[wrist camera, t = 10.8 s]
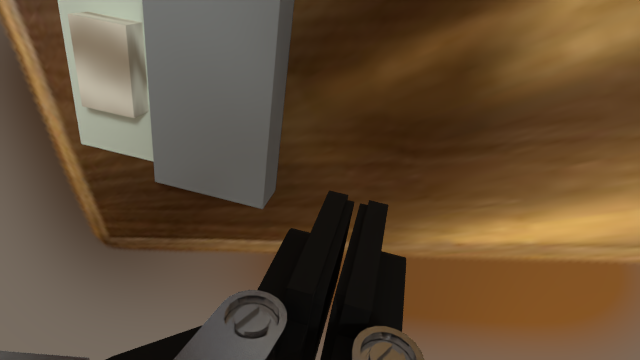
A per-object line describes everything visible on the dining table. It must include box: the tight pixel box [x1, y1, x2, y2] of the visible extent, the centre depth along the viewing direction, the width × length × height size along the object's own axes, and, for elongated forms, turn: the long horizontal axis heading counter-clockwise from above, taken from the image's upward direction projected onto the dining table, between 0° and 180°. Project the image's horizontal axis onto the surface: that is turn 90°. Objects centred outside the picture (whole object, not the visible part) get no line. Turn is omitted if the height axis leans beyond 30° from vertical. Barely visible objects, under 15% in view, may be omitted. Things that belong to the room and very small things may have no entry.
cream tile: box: [68, 12, 149, 118], centre depth 40 cm, size 9×6×2 cm, turn 172°
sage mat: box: [58, 0, 154, 162], centre depth 41 cm, size 22×12×1 cm, turn 172°
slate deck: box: [142, 0, 294, 209], centre depth 37 cm, size 22×12×4 cm, turn 172°
